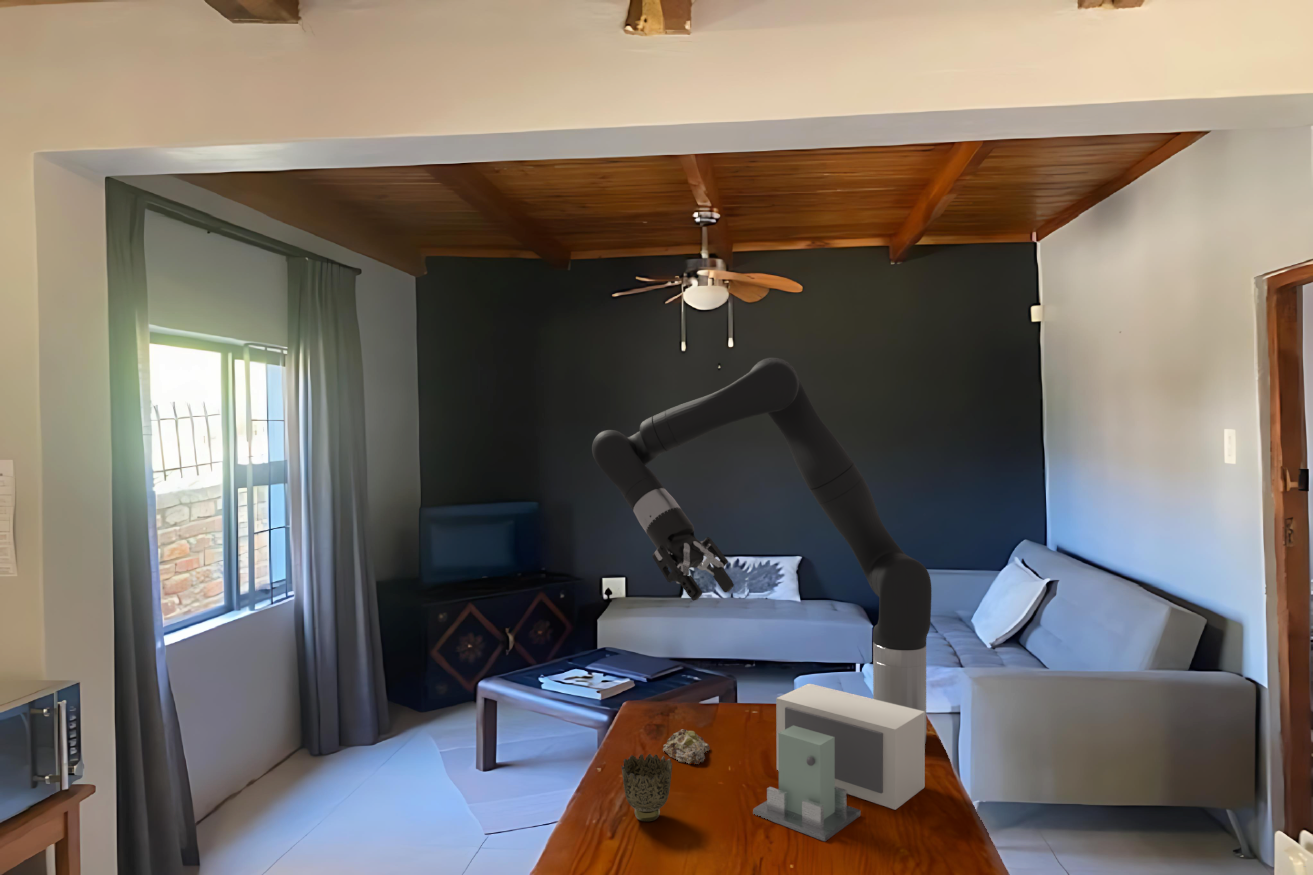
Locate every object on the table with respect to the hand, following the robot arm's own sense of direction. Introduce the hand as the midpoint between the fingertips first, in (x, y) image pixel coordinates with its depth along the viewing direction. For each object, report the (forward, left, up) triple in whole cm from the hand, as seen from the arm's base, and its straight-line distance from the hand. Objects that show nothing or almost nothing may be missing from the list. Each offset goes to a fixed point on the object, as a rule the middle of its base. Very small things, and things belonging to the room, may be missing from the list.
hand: (714, 593), depth 141 cm
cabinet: (-9, +20, -29) cm, 36 cm away
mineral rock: (0, -6, -29) cm, 30 cm away
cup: (+22, +5, -29) cm, 37 cm away
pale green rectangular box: (+6, +22, -28) cm, 36 cm away
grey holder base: (+6, +22, -29) cm, 36 cm away
